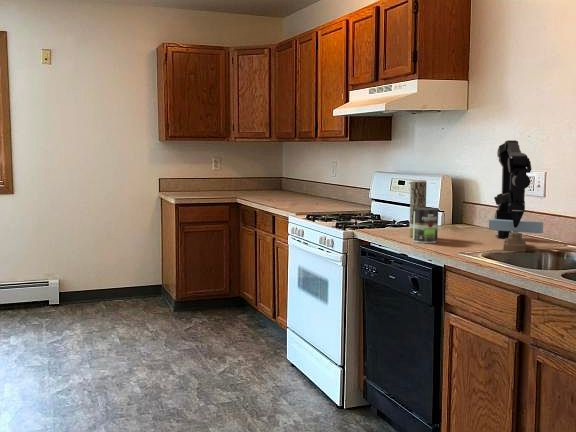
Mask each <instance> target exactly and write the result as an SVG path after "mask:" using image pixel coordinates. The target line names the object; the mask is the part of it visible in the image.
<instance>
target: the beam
mask: <svg viewBox="0 0 576 432" xmlns="http://www.w3.org/2000/svg"><path fill="white" fill-rule="evenodd" d="M488 221H489V222H488V230H489V231H498V230H500V231H512V233H513V232H518V233H529V234H530V233H531V234H543V233H544V222H542V221H528V220H520V222H519V224H518V226H517V228H514V224H513V220H499V219H494V218H490V219H488Z"/></svg>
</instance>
